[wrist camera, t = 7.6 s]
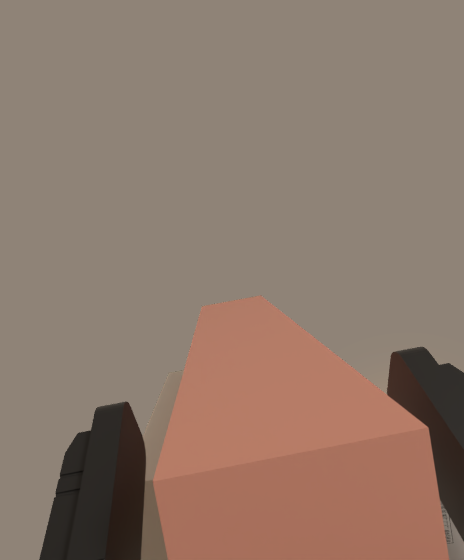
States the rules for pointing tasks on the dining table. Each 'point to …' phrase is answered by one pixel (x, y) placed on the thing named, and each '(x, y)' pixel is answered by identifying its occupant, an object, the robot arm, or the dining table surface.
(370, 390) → the long brick
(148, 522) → the brick tower
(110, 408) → the robot arm
